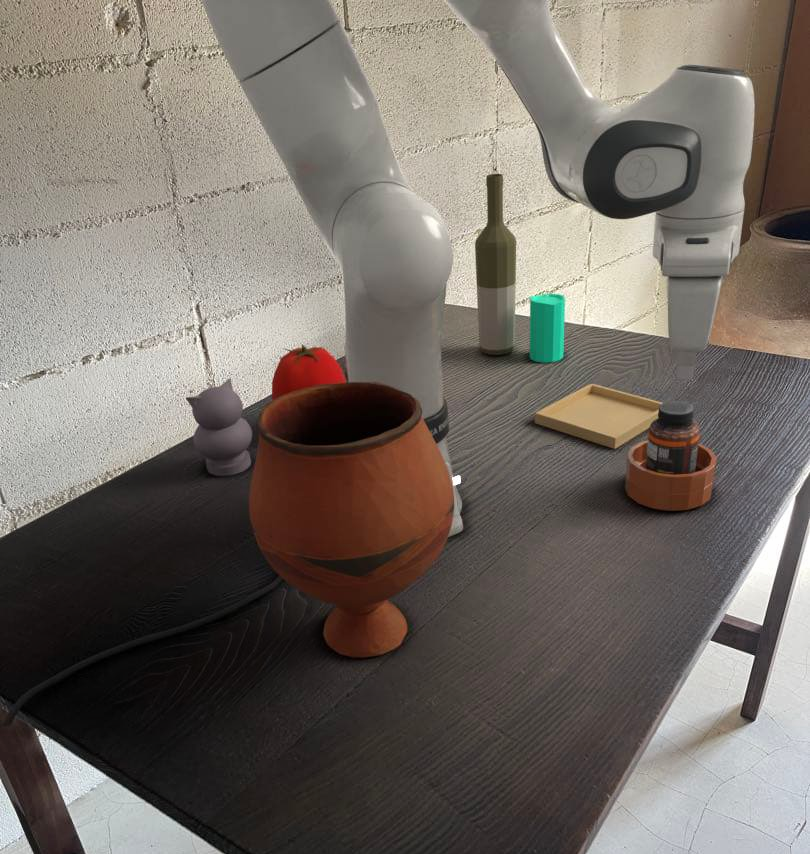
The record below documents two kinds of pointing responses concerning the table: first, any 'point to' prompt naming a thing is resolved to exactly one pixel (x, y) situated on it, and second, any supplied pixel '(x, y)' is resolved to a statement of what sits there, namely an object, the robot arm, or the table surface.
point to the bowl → (669, 481)
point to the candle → (547, 327)
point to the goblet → (350, 504)
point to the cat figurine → (221, 430)
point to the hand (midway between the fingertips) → (684, 361)
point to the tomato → (305, 370)
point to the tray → (600, 415)
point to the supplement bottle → (673, 440)
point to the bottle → (496, 276)
